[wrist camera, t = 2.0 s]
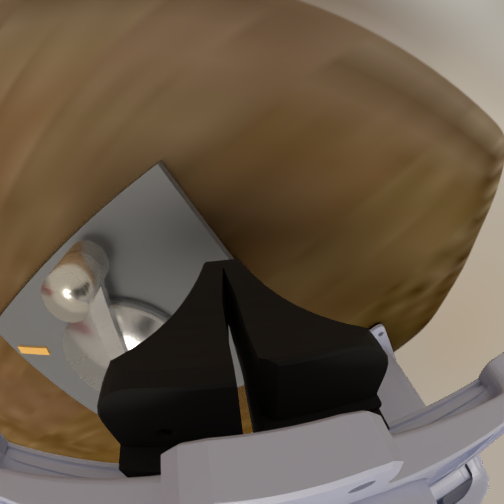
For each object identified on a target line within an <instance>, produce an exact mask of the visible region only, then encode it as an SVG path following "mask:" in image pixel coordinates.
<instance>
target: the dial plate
mask: <svg viewBox="0 0 504 504" xmlns="http://www.w3.org/2000/svg"><path fill="white" fill-rule="evenodd" d="M81 240H89V241H92V242H95V243H96V244H98V245H99V246H100V247H102V249H103V250H104V251H105V253H106V254H107V256H108V260H109V270H108V273H107V275H106V277H105V279H104V282H105V286H106V289H107V292H108V295H109V297H123V298H130V299H134V300H138V301H141V302H144V303H147V304H149V305H152V306H154V307H156V308H158V309H160V310H161V311H163V312H165V313H166V314H167V315H169V316H170V317H171V316H172V315H173V314H174V313H175V312H176V310H177V309H178V308H179V307H180V305H181V304H182V303H183V301H184V300H185V298H186V297H187V295H188V294H189V292H190V291H191V289H192V287H193V286H194V284H195V282H196V280H197V278H198V276H199V274H200V272H201V270H202V267H203V264H204V263H205V262H210V261H219V260H229V259H234V258H233V257H232V256H231V254H230V253H229V252H228V250H227V249H226V248H225V246H224V245H223V244H222V242H221V241H220V240H219V238H218V237H217V236H216V234H215V233H214V232H213V230H212V229H211V228H210V226H209V225H208V224H207V222H206V221H205V220H204V218H203V217H202V216H201V214H200V213H199V212H198V210H197V209H196V208H195V206H194V205H193V204H192V202H191V201H190V200H189V198H188V197H187V195H186V194H185V193H184V191H183V190H182V189H181V187H180V186H179V185H178V183H177V182H176V181H175V179H174V178H173V176H172V175H171V174H170V172H169V171H168V170H167V168H166V167H165V166H164V164H163V163H162V161H160V162H158V163H157V164H156V165H154V166H153V167H152V168H150V169H149V170H148V171H147V172H145V173H144V174H143V175H141V176H140V177H139V178H138V179H136V180H135V181H134V182H133V183H131V184H130V185H129V186H128V187H126V188H125V189H124V190H123V191H122V192H120V193H119V194H118V195H117V196H116V197H114V198H113V199H112V200H111V201H110V202H109V203H107V204H106V205H105V206H104V207H103V208H102V209H101V210H99V211H98V212H97V213H96V214H95V215H94V216H93V217H92V218H91V219H89V220H88V221H87V222H86V223H85V224H84V225H83V226H82V227H81V228H80V229H79V230H78V231H77V232H76V233H74V234H73V235H72V236H71V237H70V238H69V239H68V240H67V241H66V242H65V243H64V244H63V245H62V246H61V247H60V248H59V249H58V250H57V251H56V252H55V253H54V254H53V255H52V256H51V257H50V259H49V260H48V261H47V262H46V263H45V264H44V265H43V266H42V267H41V268H40V269H39V270H38V271H37V272H36V274H35V275H34V276H33V277H32V278H31V279H30V280H29V281H28V283H27V284H26V285H25V286H24V287H23V288H22V289H21V291H20V292H19V293H18V294H17V295H16V297H15V298H14V299H13V300H12V301H11V303H10V304H9V305H8V306H7V308H6V309H5V310H4V311H3V313H2V314H1V315H0V335H1V336H2V337H3V338H4V339H5V340H6V341H7V342H8V343H9V344H10V345H11V346H12V347H13V348H14V349H15V350H16V351H17V352H18V353H19V354H20V355H21V356H23V357H24V358H25V359H26V360H27V361H28V362H29V363H30V364H31V365H33V366H34V367H35V368H36V369H37V370H38V371H40V372H41V373H42V374H43V375H44V376H46V377H47V378H48V379H49V380H51V381H52V382H53V383H54V384H56V385H57V386H58V387H59V388H61V389H62V390H63V391H65V392H66V393H67V394H69V395H70V396H72V397H73V398H74V399H76V400H77V401H79V402H80V403H81V404H83V405H84V406H86V407H87V408H89V409H90V410H92V411H93V412H95V413H96V414H98V412H97V404H98V399H99V395H100V391H98V390H96V389H94V388H93V387H91V386H90V385H88V384H87V383H86V382H85V381H83V380H82V379H81V378H80V377H79V376H78V375H77V374H76V373H75V371H74V370H73V369H72V367H71V366H70V364H69V363H68V361H67V359H66V356H65V353H64V349H63V336H64V332H65V330H66V328H67V326H68V324H69V322H65V321H62V320H60V319H58V318H57V317H55V316H54V315H53V314H52V313H51V312H50V311H49V310H48V309H47V308H46V306H45V305H44V303H43V300H42V297H41V286H42V283H43V282H44V280H45V279H46V278H47V276H48V275H49V274H50V272H51V271H52V270H53V269H54V267H55V266H56V265H57V264H58V262H59V261H60V260H61V259H62V257H63V256H64V255H65V254H66V253H67V251H68V250H69V249H70V248H71V247H72V245H73V244H75V243H76V242H78V241H81ZM229 345H230V350H231V355H232V359H233V364H234V370H235V376H236V382H237V388H238V387H240V386H242V385H244V380H243V375H242V371H241V367H240V364H239V360H238V357H237V353H236V350H235V346H234V343H233V339H232V336H231V332H230V328H229Z"/></svg>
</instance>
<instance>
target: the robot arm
mask: <svg viewBox="0 0 504 504" xmlns="http://www.w3.org/2000/svg"><path fill="white" fill-rule="evenodd" d="M229 328H230V332H231V336H232V339H233V343H234V346H235V350H236V353H237V357H238V360H239V364H240V367H241V371H242V375H243V380H244V385H245V391H246V396H247V402H248V407H249V413H250V418H251V423H252V429H253V433H249V434H243V431H242V423H241V415H240V407H239V398H238V389H237V382H236V376H235V370H234V364H233V359H232V355H231V350H230V345H229ZM97 412H98V415H99V417H100V419H101V421H102V422H103V423H104V425H105V426H106V427H107V429H108V430H109V431H110V432H111V434H112V435H113V436H114V437H115V438H116V440H117V441H118V442H119V443H120V444H121V447H120V458H119V464H117V463H107V462H98V461H90V460H84V459H77V458H71V457H66V456H61V455H56V454H51V453H47V452H43V451H39V450H35V449H31V448H27V447H23V446H20V445H17V444H13V443H10V442H8V441H7V440H6V438H5V437H4V436H3V435H2V434H1V433H0V504H481V502H482V501H483V499H484V497H485V495H486V493H487V491H488V489H489V485H488V481H489V477H488V475H487V473H486V471H485V469H484V467H483V465H482V464H483V462H482V459H481V457H480V455H479V453H480V452H482V451H483V450H484V449H485V448H487V447H488V446H489V445H490V444H491V443H493V442H494V441H495V440H496V439H497V438H499V437H500V436H501V435H502V434H503V433H504V352H503V353H502V354H500V355H499V356H497V357H496V358H494V359H492V360H491V361H490V362H489V363H488V364H487V365H486V366H485V368H484V369H483V370H482V372H481V374H480V375H479V378H478V379H476V380H475V381H473V382H471V383H470V384H468V385H466V386H465V387H463V388H461V389H459V390H458V391H456V392H454V393H452V394H450V395H448V396H447V397H445V398H443V399H441V400H439V401H437V402H435V403H433V404H431V405H429V406H427V407H426V405H425V404H424V402H423V401H422V399H421V398H420V396H419V395H418V393H417V392H416V390H415V389H414V387H413V386H412V384H411V383H410V381H409V380H408V378H407V377H406V375H405V374H404V372H403V371H402V369H401V368H400V366H399V365H398V363H397V362H396V359H395V356H394V353H393V350H392V347H391V344H390V341H389V339H388V336H387V333H386V330H385V327H384V326H383V325H382V324H378V325H376V326H375V327H373V328H372V329H370V330H369V329H368V328H364V327H359V326H355V325H350V324H345V323H341V322H337V321H334V320H331V319H328V318H325V317H322V316H319V315H317V314H314V313H312V312H309V311H307V310H305V309H303V308H300V307H298V306H296V305H294V304H293V303H291V302H289V301H287V300H286V299H284V298H282V297H281V296H279V295H277V294H276V293H275V292H273V291H272V290H270V289H269V288H268V287H267V286H265V285H264V284H263V283H262V282H261V281H260V280H258V279H257V278H256V277H255V276H254V275H253V274H252V273H251V272H250V271H249V270H248V269H247V268H246V267H245V266H244V265H243V264H242V263H241V261H240V260H238V259H229V260H219V261H210V262H205V263H204V264H203V267H202V270H201V272H200V274H199V276H198V278H197V280H196V282H195V284H194V286H193V287H192V289H191V291H190V292H189V294H188V295H187V297H186V298H185V300H184V301H183V303H182V304H181V305H180V307H179V308H178V309H177V310H176V312H175V313H174V314H173V315H172V316H171V317H170V318H169V319H168V320H167V321H166V322H165V323H164V324H163V325H162V326H161V327H160V328H159V329H158V330H157V331H155V332H154V333H153V334H152V335H150V336H149V337H148V338H147V339H145V340H144V341H142V342H141V343H140V344H138V345H137V346H135V347H134V348H132V349H130V350H129V351H127V352H125V353H123V354H122V355H120V356H118V357H116V358H115V359H113V360H111V361H110V363H109V366H108V368H107V370H106V373H105V376H104V379H103V382H102V386H101V390H100V395H99V399H98V404H97ZM464 465H465V466H464Z"/></svg>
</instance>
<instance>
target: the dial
mask: <svg viewBox="0 0 504 504" xmlns="http://www.w3.org/2000/svg"><path fill="white" fill-rule="evenodd" d="M108 270H109V260H108V256H107V254H106V253H105V251H104V250H103V249H102V247H100V246H99V245H98V244H96V243H95V242H92V241H89V240H81V241H78V242H76V243H75V244H73V245H72V247H71V248H70V249H69V250H68V251H67V253H66V254H65V255H64V256H63V257H62V259H61V260H60V261H59V262H58V264H57V265H56V266H55V267H54V269H53V270H52V271H51V272H50V274H49V275H48V276H47V278H46V279H45V280H44V282H43V283H42V286H41V297H42V300H43V303H44V305H45V306H46V308H47V309H48V310H49V311H50V312H51V313H52V314H53V315H54V316H55V317H57V318H58V319H60V320H62V321H65V322H69V324H68V326H67V328H66V330H65V332H64V336H63V349H64V353H65V356H66V359H67V361H68V363H69V364H70V366H71V367H72V369H73V370H74V371H75V373H76V374H77V375H78V376H79V377H80V378H81V379H82V380H83V381H85V382H86V383H87V384H88V385H90V386H91V387H93V388H94V389H96V390H98V391H100V390H101V386H102V382H103V379H104V376H105V373H106V370H107V368H108V366H109V363H110V361H111V360H113V359H115V358H116V357H118V356H120V355H122V354H123V353H125V352H127V351H129V350H130V349H132V348H134V347H135V346H137V345H138V344H140V343H141V342H142V341H144V340H145V339H147V338H148V337H149V336H150V335H152V334H153V333H154V332H155V331H157V330H158V329H159V328H160V327H161V326H162V325H163V324H164V323H165V322H166V321H167V320H168V319H169V318H170V316H169V315H167V314H166V313H165V312H163V311H161V310H160V309H158V308H156V307H154V306H152V305H149V304H147V303H144V302H141V301H138V300H134V299H130V298H123V297H109V295H108V292H107V289H106V286H105V282H104V279H105V277H106V275H107V273H108Z"/></svg>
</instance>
